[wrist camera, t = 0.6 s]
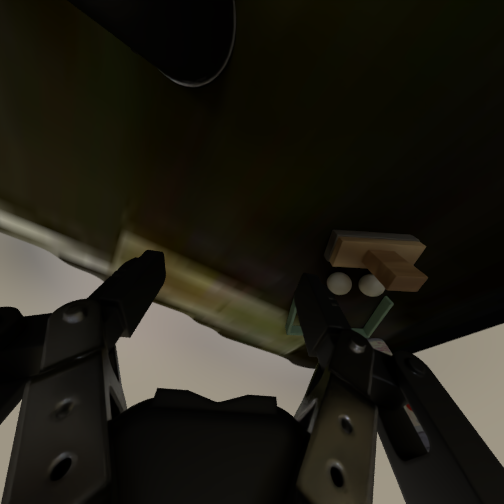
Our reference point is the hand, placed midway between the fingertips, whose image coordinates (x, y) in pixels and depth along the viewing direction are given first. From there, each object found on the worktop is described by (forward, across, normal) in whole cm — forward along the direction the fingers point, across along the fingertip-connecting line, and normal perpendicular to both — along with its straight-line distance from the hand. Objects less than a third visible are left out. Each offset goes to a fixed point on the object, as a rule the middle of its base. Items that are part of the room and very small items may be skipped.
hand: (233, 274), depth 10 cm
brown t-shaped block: (+18, -21, +4) cm, 28 cm away
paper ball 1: (+16, -19, +12) cm, 27 cm away
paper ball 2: (+16, -25, +11) cm, 32 cm away
